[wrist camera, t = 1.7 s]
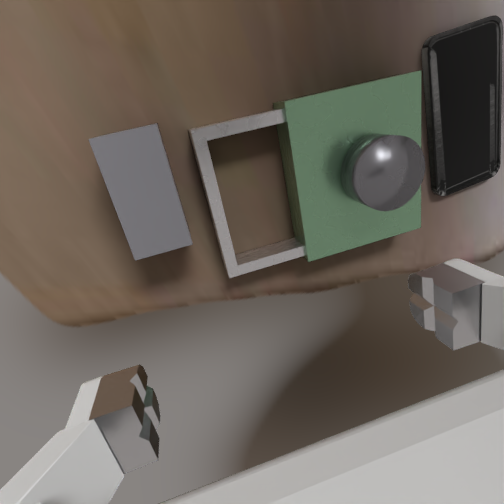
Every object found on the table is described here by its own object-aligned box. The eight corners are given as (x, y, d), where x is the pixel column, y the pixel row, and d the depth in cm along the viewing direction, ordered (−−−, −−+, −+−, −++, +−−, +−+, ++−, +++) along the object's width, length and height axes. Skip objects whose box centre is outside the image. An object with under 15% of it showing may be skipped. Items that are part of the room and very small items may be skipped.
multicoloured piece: (186, 122, 28) (192, 124, 22) (398, 74, 31) (449, 65, 25) (225, 271, 33) (238, 301, 28) (401, 219, 36) (443, 237, 31)
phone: (437, 199, 36) (426, 38, 29) (429, 196, 37) (418, 40, 30) (500, 173, 36) (504, 11, 30) (491, 172, 37) (493, 15, 31)
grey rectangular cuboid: (100, 135, 27) (88, 139, 22) (157, 122, 27) (156, 124, 23) (139, 239, 30) (135, 260, 26) (188, 225, 31) (192, 244, 26)
